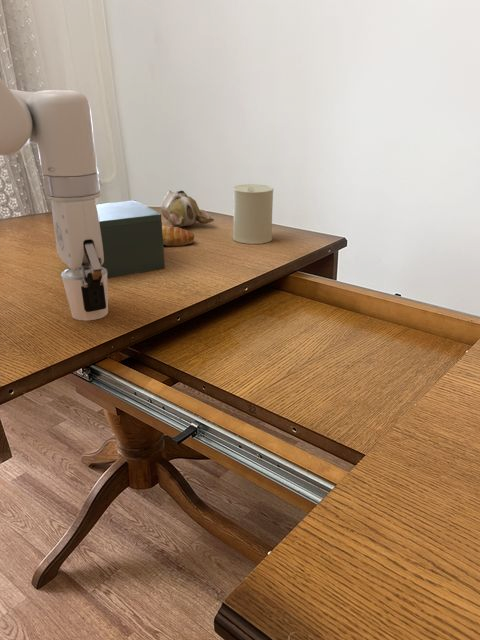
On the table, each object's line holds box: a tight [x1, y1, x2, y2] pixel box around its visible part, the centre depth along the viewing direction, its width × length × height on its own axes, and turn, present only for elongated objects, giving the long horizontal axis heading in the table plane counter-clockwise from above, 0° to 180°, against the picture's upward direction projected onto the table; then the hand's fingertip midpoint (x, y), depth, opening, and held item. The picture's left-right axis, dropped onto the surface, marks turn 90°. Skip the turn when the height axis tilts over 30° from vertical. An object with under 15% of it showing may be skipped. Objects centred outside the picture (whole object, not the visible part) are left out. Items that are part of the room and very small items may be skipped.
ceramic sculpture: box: [160, 190, 215, 228], centre depth 135 cm, size 11×9×15 cm
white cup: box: [60, 267, 109, 322], centre depth 85 cm, size 7×7×7 cm
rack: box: [87, 199, 166, 279], centre depth 106 cm, size 16×14×11 cm
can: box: [232, 183, 274, 245], centre depth 124 cm, size 9×9×12 cm
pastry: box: [162, 225, 195, 247], centre depth 122 cm, size 9×7×4 cm
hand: (88, 300), depth 86 cm, fingers closed on white cup, 6 cm apart
